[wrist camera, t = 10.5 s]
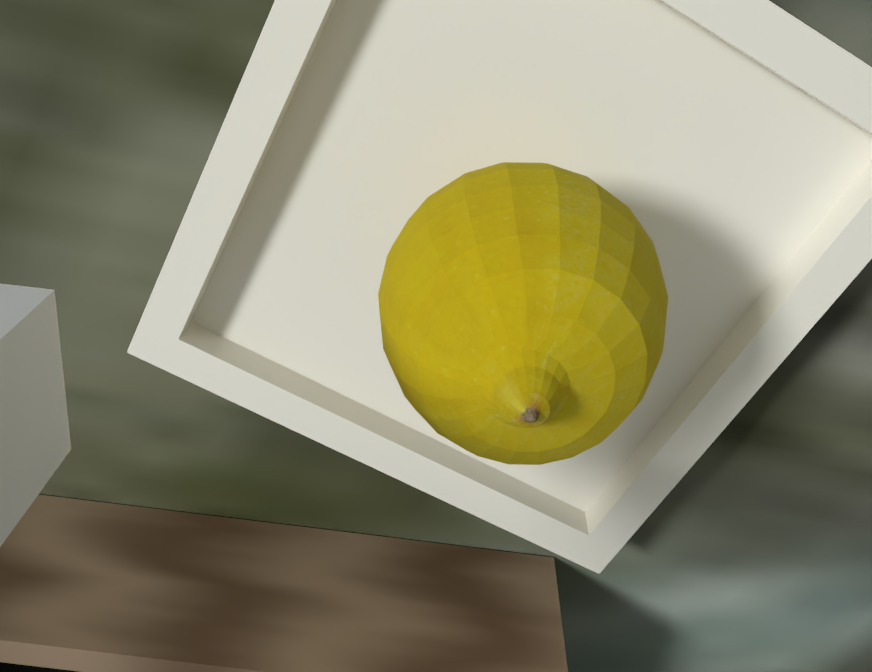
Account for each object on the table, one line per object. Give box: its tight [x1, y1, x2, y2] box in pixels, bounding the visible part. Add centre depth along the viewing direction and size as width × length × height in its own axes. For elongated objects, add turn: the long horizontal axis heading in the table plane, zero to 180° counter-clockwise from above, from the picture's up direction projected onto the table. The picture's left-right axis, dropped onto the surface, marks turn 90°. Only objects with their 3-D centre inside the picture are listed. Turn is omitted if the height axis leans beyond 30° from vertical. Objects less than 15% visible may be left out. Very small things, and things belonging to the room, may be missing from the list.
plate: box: [127, 0, 872, 574], centre depth 20 cm, size 14×14×2 cm
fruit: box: [378, 162, 668, 465], centre depth 16 cm, size 6×6×8 cm
